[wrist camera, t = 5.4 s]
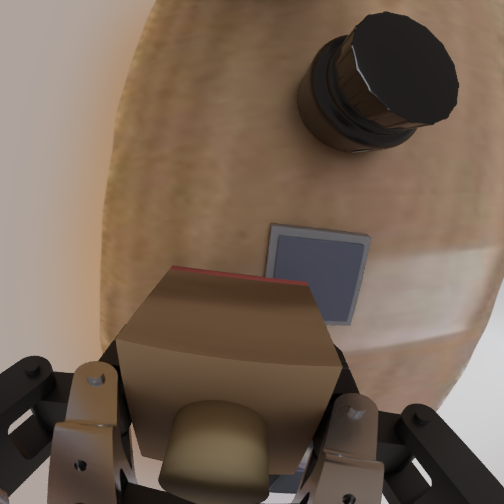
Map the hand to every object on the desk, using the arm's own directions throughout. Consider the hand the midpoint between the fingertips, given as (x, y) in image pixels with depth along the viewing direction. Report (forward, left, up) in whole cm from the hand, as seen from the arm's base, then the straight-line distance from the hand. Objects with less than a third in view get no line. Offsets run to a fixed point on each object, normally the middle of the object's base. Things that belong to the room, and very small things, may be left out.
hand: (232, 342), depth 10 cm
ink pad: (+3, +7, -16) cm, 17 cm away
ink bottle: (-13, +8, -16) cm, 22 cm away
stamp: (0, 0, -1) cm, 1 cm away
